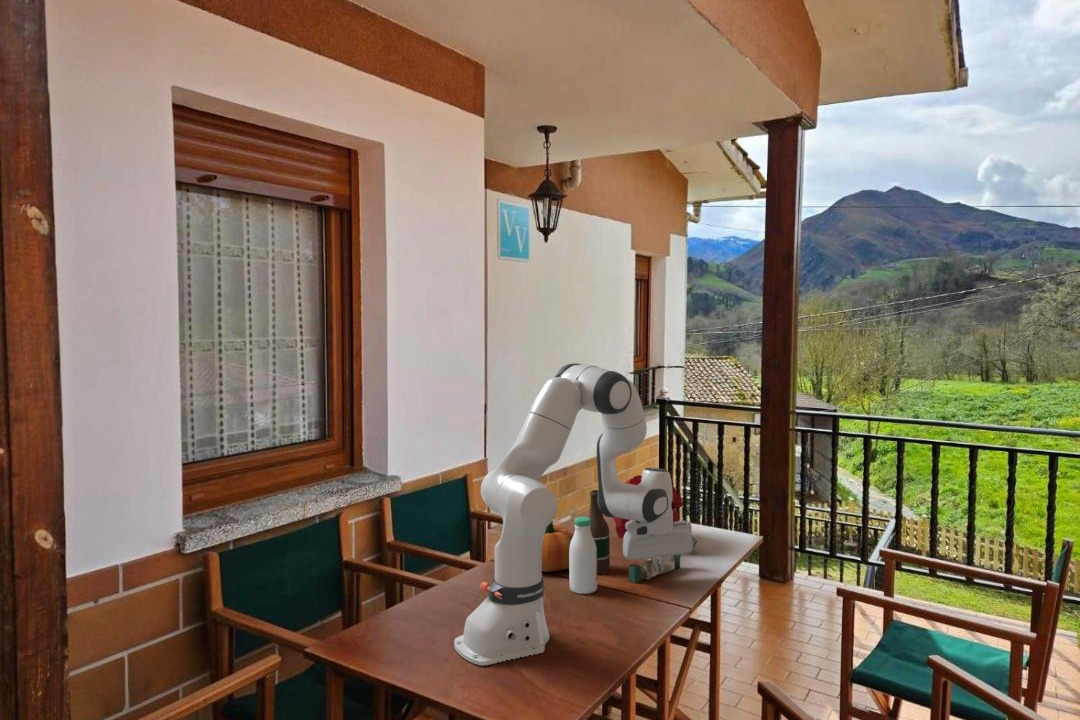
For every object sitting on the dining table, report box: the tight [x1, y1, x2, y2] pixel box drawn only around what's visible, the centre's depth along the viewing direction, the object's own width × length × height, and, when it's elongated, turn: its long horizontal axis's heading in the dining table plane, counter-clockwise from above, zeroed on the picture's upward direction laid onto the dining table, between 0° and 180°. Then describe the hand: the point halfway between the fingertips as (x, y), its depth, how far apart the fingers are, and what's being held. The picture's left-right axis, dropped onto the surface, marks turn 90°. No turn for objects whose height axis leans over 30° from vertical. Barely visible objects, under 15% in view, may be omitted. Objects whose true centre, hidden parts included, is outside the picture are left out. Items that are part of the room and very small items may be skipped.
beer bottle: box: [588, 489, 611, 575], centre depth 201 cm, size 8×8×24 cm
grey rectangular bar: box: [641, 555, 675, 580], centre depth 197 cm, size 12×2×5 cm, turn 130°
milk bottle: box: [568, 516, 598, 595], centre depth 187 cm, size 8×8×20 cm
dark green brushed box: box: [628, 563, 644, 584], centre depth 193 cm, size 3×3×4 cm
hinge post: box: [674, 554, 681, 571], centre depth 202 cm, size 3×3×9 cm
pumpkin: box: [542, 520, 574, 573], centre depth 206 cm, size 19×19×15 cm
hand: (658, 570), depth 193 cm, fingers closed
